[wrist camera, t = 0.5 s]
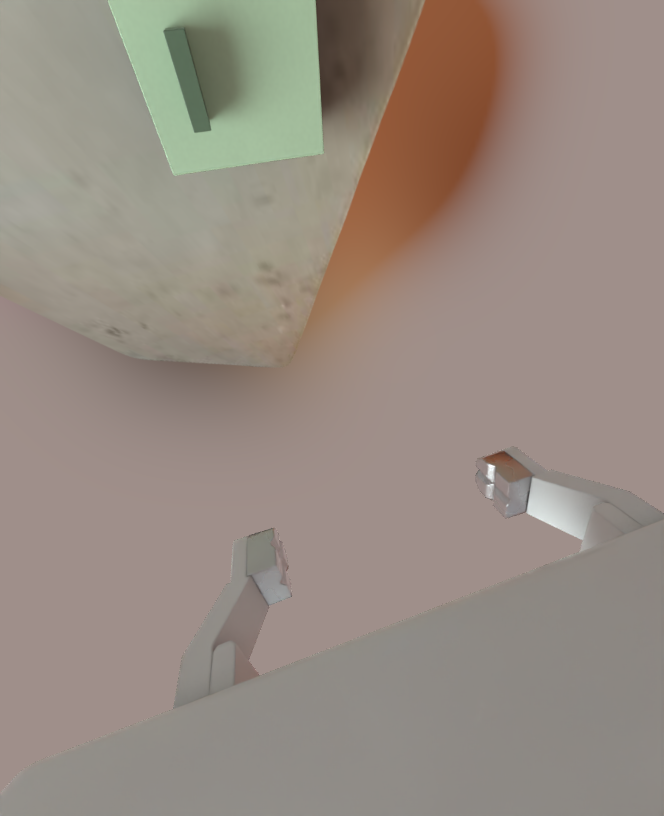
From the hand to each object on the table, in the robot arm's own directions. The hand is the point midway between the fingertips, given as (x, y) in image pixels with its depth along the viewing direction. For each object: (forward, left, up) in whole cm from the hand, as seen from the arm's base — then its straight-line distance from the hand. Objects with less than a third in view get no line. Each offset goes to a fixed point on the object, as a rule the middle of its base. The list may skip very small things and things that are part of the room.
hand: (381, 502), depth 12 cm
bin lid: (-7, +4, -41) cm, 42 cm away
